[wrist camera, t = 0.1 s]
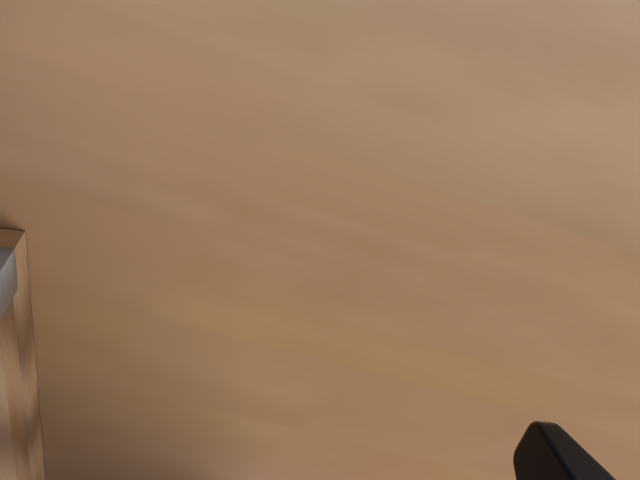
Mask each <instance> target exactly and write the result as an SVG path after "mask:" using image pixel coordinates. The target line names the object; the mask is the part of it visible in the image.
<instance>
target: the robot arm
mask: <svg viewBox="0 0 640 480" xmlns="http://www.w3.org/2000/svg"><path fill="white" fill-rule="evenodd" d="M513 462H514V469H515V475H516V480H616V479H615V478H614V477H613V476H611V475H610V474H609V473H608V472H607V471H606V470H605V469H604V468H603V467H602V466H601V465H600V464H599V463H598V462H597V461H596V460H595V459H594V458H593V457H592V456H591V455H590V454H588V453H587V452H586V451H585V450H584V449H583V448H582V447H581V446H580V445H579V444H578V443H577V442H576V441H575V440H574V439H573V438H572V437H571V436H570V435H569V434H568V433H566V432H565V431H564V430H563V429H562V428H561V427H560V426H559V425H557V424H555V423H551V422H540V421H535V422H533V423H531V424H530V425H529V426H528V428H527V430H526V432H525V433H524V435H523V437H522V439H521V440H520V442H519V444H518V446H517V447H516V449H515V452H514V458H513Z"/></svg>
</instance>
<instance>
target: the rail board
mask: <svg viewBox="0 0 640 480" xmlns="http://www.w3.org/2000/svg"><path fill="white" fill-rule="evenodd" d="M0 480H45V471H44V459H43V447H42V434H41V422H40V409H39V397H38V384H37V372H36V359H35V347H34V334H33V322H32V309H31V297H30V284H29V272H28V259H27V247H26V234H25V231H18V230H10V229H2V228H0Z"/></svg>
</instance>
